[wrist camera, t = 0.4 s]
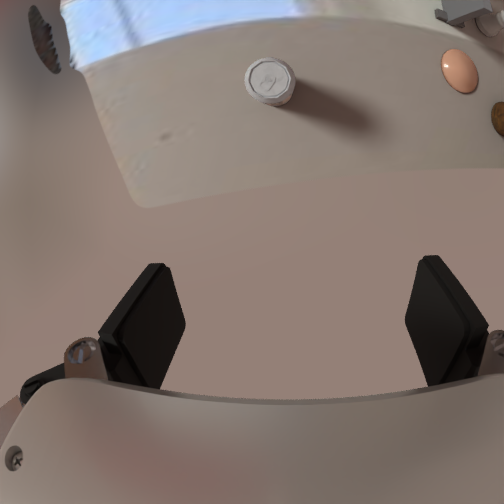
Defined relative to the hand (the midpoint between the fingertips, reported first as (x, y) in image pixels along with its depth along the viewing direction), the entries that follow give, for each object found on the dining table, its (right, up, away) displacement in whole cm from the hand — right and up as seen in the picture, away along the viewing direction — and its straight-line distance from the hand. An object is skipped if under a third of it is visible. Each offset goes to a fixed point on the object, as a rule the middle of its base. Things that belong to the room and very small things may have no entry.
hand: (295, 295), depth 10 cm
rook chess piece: (+35, +38, +10) cm, 53 cm away
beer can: (+1, +23, +23) cm, 32 cm away
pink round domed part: (+29, +28, +16) cm, 43 cm away
